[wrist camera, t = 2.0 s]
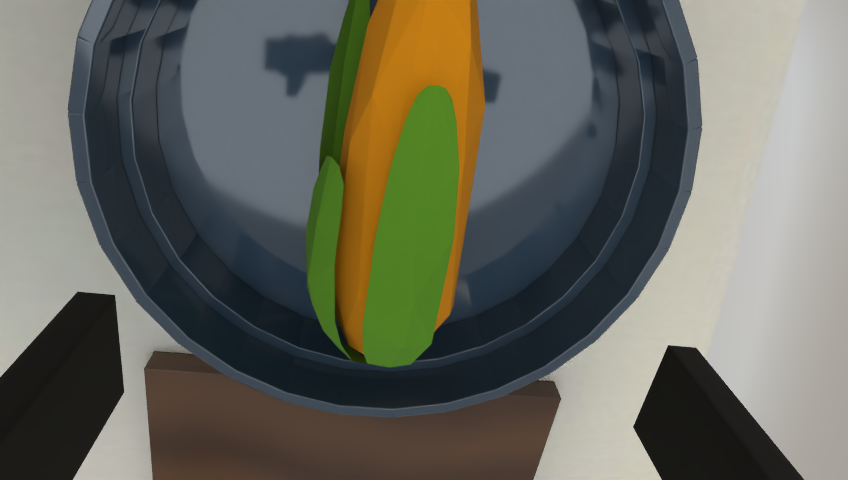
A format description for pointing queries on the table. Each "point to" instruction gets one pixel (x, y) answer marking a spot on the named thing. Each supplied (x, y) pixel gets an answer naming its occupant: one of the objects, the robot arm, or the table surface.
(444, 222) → the corn
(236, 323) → the bowl
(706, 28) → the table surface
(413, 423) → the walnut board
